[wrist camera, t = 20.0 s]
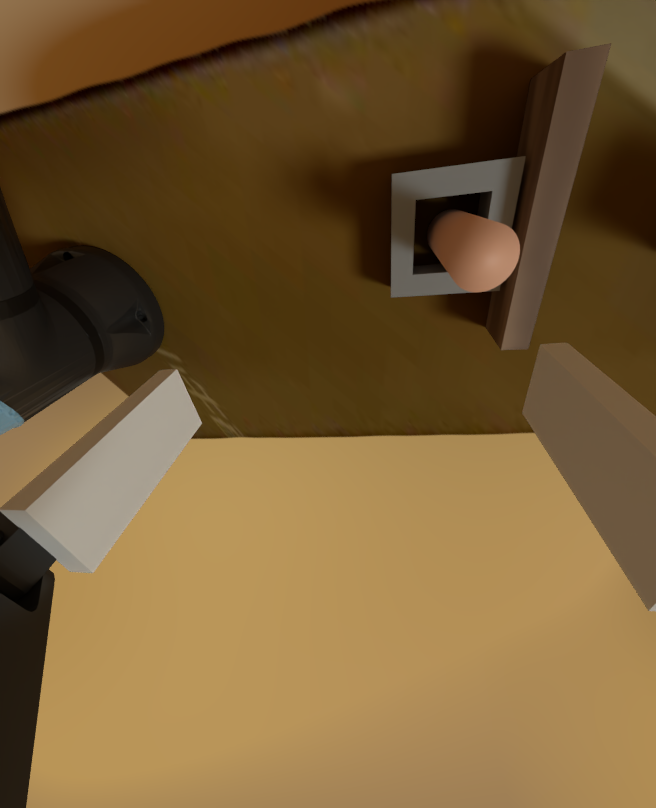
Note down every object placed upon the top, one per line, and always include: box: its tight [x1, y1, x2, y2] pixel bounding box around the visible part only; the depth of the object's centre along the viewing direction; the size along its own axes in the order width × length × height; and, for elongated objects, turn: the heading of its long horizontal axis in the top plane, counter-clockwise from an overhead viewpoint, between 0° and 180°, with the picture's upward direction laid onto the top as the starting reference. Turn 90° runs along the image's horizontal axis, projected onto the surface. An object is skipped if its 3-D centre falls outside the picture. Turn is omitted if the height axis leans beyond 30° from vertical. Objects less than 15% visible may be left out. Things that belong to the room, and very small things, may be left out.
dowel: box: [427, 209, 520, 292], centre depth 25 cm, size 4×4×14 cm
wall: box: [486, 43, 611, 350], centre depth 27 cm, size 2×20×6 cm, turn 6°
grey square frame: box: [391, 156, 526, 297], centre depth 29 cm, size 10×10×4 cm
